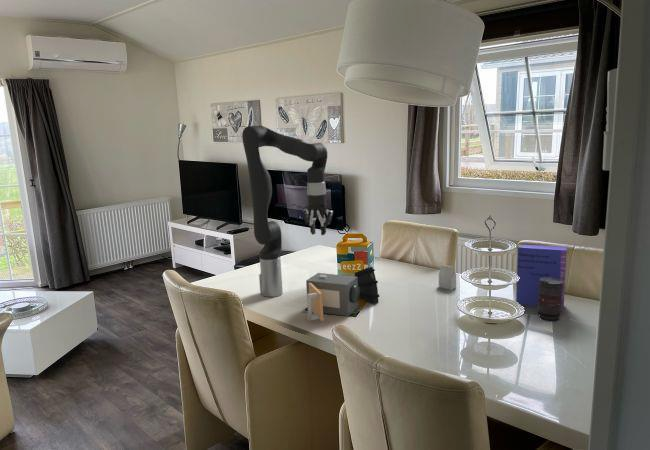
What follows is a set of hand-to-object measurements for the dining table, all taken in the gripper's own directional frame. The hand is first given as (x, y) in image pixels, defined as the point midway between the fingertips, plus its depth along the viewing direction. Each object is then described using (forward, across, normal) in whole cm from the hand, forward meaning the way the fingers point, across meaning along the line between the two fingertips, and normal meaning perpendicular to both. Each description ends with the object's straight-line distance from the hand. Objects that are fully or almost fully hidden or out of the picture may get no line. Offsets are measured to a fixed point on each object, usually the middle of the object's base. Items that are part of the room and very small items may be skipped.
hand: (318, 234), depth 209 cm
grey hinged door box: (+30, -7, +3) cm, 31 cm away
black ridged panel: (+31, -16, -12) cm, 37 cm away
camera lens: (+30, -88, -15) cm, 94 cm away
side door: (+29, -4, +16) cm, 33 cm away
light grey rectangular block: (+30, -44, -39) cm, 66 cm away
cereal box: (+30, -84, -29) cm, 94 cm away
